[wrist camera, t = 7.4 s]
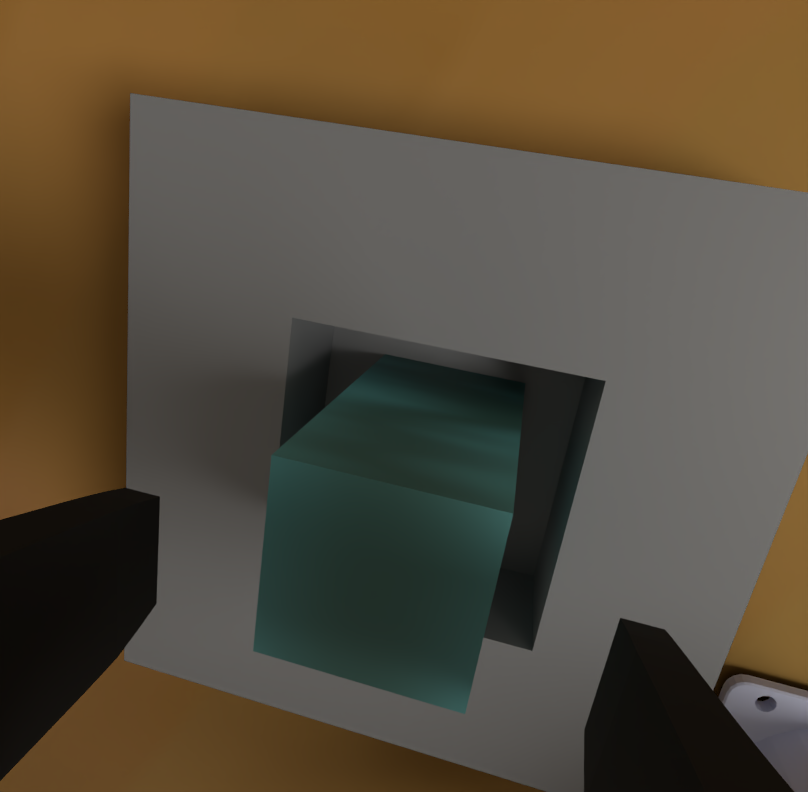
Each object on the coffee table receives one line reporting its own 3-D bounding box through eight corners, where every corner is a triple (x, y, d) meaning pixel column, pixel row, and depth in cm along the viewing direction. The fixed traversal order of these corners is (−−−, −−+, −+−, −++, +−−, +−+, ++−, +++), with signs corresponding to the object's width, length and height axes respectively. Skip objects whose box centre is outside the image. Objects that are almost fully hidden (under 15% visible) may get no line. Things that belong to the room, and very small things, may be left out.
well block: (804, 209, 14) (905, 207, 10) (633, 698, 18) (658, 826, 14) (228, 122, 16) (130, 92, 12) (201, 577, 20) (124, 660, 16)
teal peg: (525, 383, 15) (513, 514, 8) (495, 511, 16) (465, 714, 10) (385, 354, 16) (271, 454, 9) (366, 479, 17) (253, 650, 10)
